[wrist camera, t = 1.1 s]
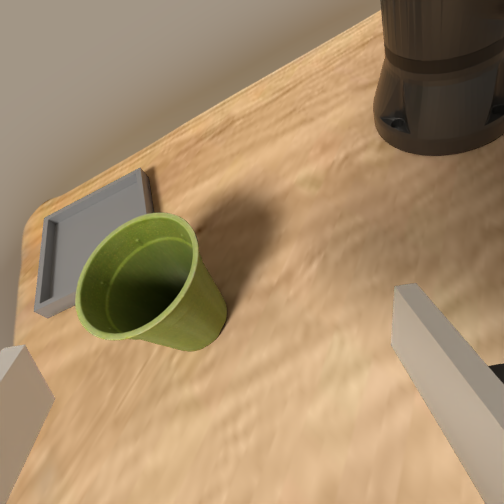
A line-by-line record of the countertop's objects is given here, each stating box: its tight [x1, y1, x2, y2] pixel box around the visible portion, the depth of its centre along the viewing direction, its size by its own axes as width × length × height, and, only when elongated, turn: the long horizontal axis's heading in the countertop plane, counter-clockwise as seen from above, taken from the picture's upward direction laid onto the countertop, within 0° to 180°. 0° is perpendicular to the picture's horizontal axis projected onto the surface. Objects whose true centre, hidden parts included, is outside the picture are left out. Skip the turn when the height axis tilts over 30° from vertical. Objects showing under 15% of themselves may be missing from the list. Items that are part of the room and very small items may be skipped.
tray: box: [34, 168, 154, 318], centre depth 51 cm, size 17×17×2 cm
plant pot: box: [75, 213, 227, 351], centre depth 35 cm, size 12×12×11 cm
